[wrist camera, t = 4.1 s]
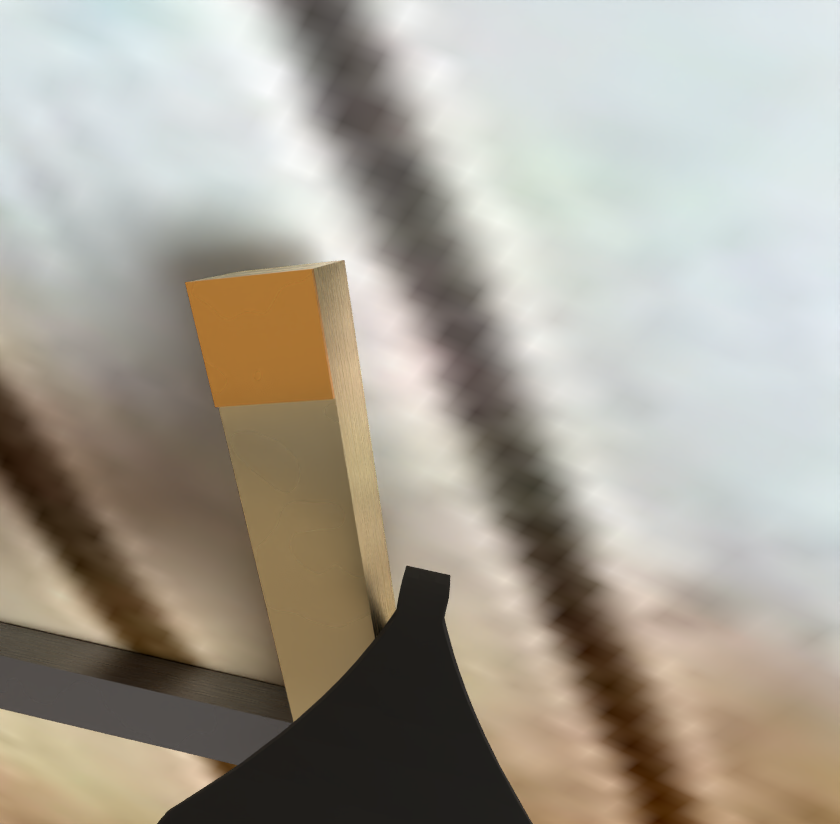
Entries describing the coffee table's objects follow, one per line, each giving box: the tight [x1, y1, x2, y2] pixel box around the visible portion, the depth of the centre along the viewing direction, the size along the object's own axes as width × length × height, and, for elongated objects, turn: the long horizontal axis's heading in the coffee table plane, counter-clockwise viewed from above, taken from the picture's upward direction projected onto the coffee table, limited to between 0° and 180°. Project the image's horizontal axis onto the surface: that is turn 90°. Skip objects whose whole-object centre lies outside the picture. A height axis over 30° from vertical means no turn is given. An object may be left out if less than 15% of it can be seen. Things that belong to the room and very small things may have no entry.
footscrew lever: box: [185, 260, 396, 722], centre depth 12 cm, size 14×3×3 cm, turn 6°
